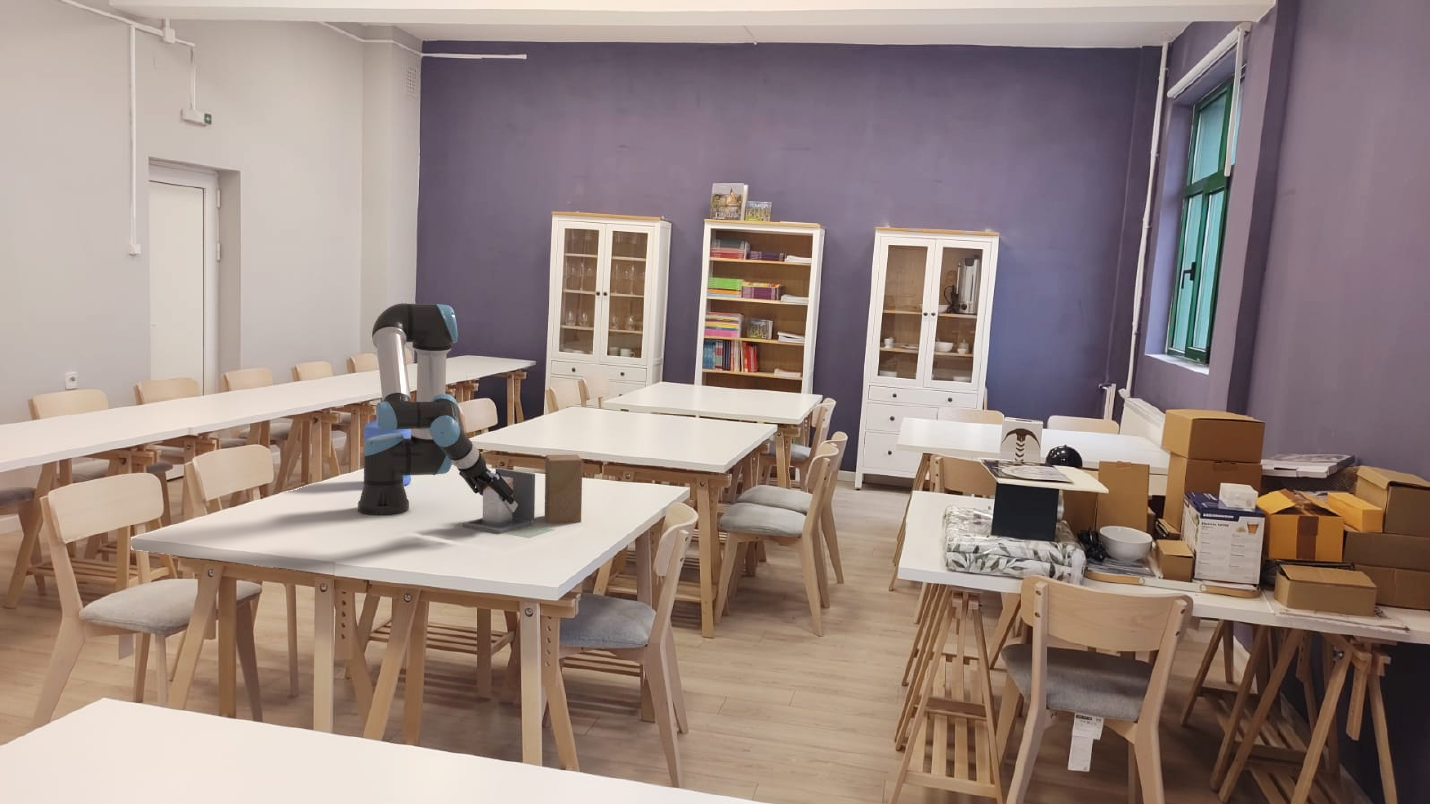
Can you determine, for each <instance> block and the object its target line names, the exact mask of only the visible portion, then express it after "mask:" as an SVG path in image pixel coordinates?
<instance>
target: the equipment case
mask: <svg viewBox="0 0 1430 804" xmlns="http://www.w3.org/2000/svg"><path fill="white" fill-rule="evenodd" d="M496 472H499V473H500V475H501V476H503V477H509V478H513V491H514V492H513V499H514V500H515V502H516V503H517V504H518V506H517V508H516V509H515V511H514V512H512V525H510V526H507V527H504V528H500V529H497V528H492V527H486V526H483V517H481V518H480V517H479V518H476V519H473V520H470V521H467V522H462V527H463V528H468V529H471V530H476V531H477V530H478V531H483V532H489V533H494V534H499V535H500V534H504V533H509V532H511V531H512V532H513V531H514V530H515V531H516V530H519V529H523V528H526V527H529V526H531V525H532V526H533V523H535V512H536V508H535V503H536V502H535V501H536V500H535V498H536V474H535V473H533V472H525V471H521V470H515V469H514V470H513V469H507V468H506V469H505V468H500V467H499V468H498V467H497V468H495V473H496Z"/></svg>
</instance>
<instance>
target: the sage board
mask: <svg viewBox="0 0 1430 804" xmlns="http://www.w3.org/2000/svg"><path fill="white" fill-rule="evenodd" d="M554 531H556V529H554V528H550V527H549V528H548V527H542V526H537V525H532V526H531V525H530V526H527V527H523V528H520V529H517V530H515V531H514V530H513V531H512V532H511V531H510V532H506V534H507V535H509V536H510V535H511V536H516V537H521V538H527V539H530V538H534V537H538V536H540V535H543V534H546V533H550V532H554Z"/></svg>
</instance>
